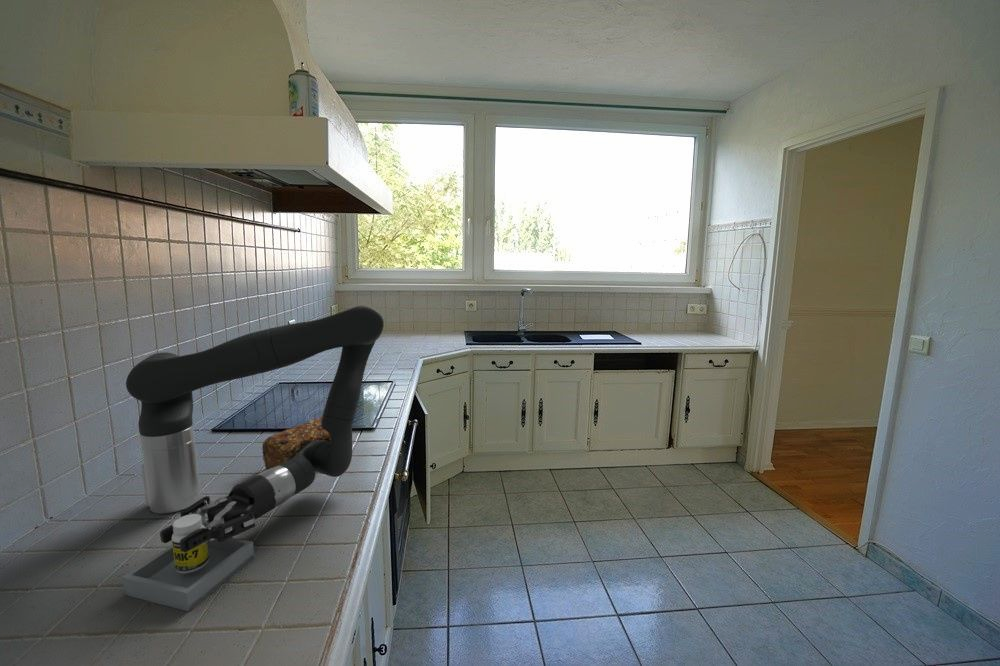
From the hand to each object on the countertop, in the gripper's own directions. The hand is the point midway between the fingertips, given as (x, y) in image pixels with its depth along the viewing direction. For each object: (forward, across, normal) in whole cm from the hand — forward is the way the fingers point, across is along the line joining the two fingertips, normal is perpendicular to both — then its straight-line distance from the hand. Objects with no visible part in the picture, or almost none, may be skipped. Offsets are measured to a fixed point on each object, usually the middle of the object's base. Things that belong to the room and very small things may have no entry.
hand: (172, 542), depth 74 cm
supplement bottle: (-3, 0, +6) cm, 7 cm away
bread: (-42, -17, +9) cm, 46 cm away
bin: (-3, 0, +8) cm, 8 cm away
